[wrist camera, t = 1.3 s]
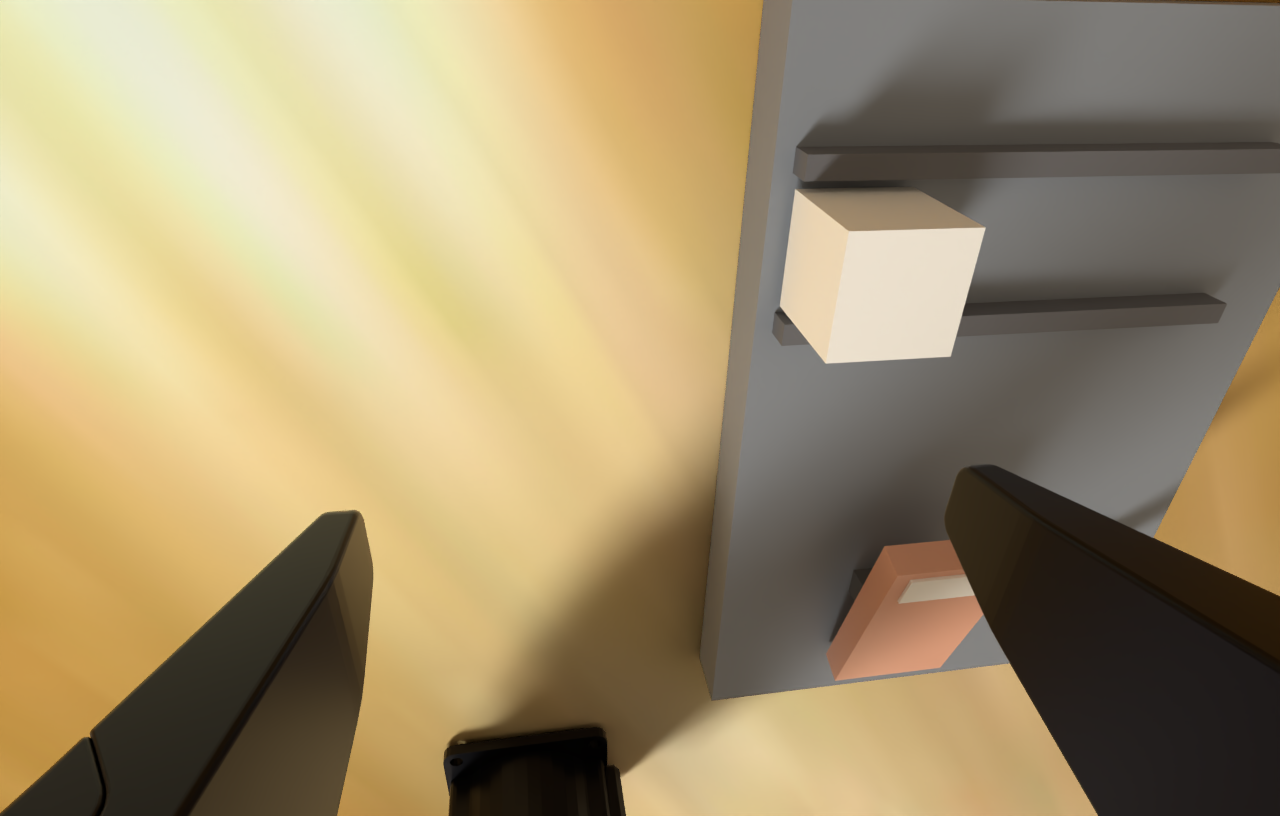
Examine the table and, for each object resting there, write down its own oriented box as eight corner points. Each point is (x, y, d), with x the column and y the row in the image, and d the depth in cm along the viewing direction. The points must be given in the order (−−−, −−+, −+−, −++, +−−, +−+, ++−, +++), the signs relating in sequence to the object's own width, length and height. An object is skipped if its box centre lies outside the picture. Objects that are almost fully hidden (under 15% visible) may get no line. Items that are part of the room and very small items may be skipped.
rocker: (825, 653, 27) (835, 683, 26) (884, 546, 22) (899, 579, 21) (928, 641, 27) (940, 670, 27) (1008, 534, 22) (1027, 565, 22)
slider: (779, 305, 19) (825, 363, 16) (795, 189, 18) (848, 231, 15) (888, 301, 20) (950, 356, 17) (912, 186, 18) (985, 227, 15)
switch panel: (699, 657, 29) (717, 721, 27) (764, -10, 17) (808, -3, 15) (1063, 615, 32) (1110, 670, 29) (1341, 4, 20) (1459, 11, 17)
